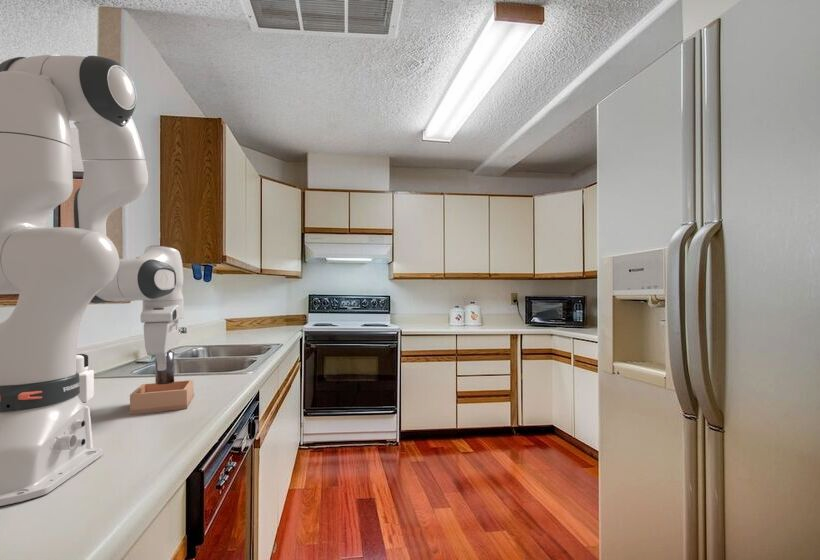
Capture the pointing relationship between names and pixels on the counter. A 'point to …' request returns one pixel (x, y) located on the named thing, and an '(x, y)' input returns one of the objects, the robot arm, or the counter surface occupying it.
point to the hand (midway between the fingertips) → (164, 368)
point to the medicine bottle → (84, 378)
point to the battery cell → (167, 374)
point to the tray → (162, 397)
